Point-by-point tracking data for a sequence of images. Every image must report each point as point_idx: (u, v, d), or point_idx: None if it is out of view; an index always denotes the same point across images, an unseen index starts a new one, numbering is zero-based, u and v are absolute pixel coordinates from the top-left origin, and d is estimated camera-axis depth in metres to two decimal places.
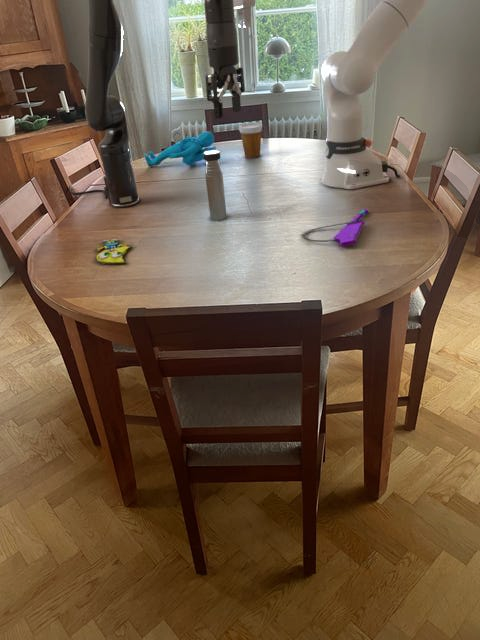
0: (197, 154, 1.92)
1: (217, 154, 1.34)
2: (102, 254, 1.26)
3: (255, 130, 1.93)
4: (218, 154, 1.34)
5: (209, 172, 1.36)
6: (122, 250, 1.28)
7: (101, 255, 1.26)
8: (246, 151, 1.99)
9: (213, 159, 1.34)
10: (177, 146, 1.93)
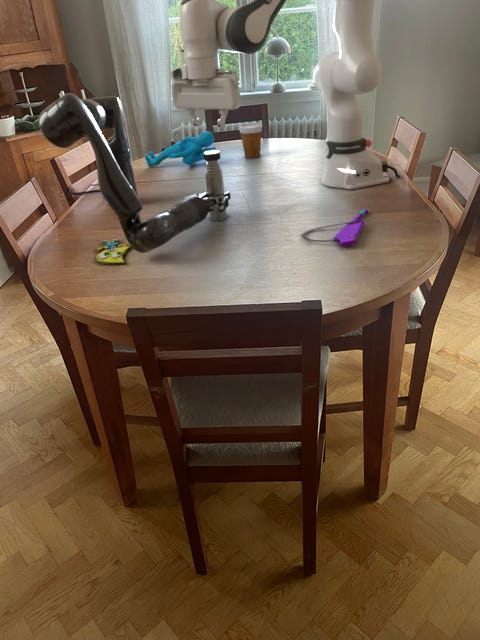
0: (197, 154, 1.92)
1: (217, 154, 1.34)
2: (102, 254, 1.26)
3: (255, 130, 1.93)
4: (218, 154, 1.34)
5: (209, 172, 1.36)
6: (122, 250, 1.28)
7: (101, 255, 1.26)
8: (246, 151, 1.99)
9: (213, 159, 1.34)
10: (177, 146, 1.93)
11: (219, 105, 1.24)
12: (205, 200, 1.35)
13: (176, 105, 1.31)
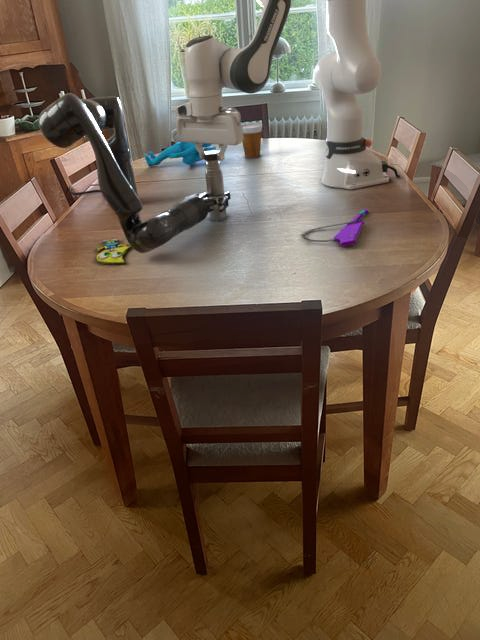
0: (197, 154, 1.92)
1: None
2: (102, 254, 1.26)
3: (255, 130, 1.93)
4: None
5: (209, 172, 1.36)
6: (122, 250, 1.28)
7: (101, 255, 1.26)
8: (246, 151, 1.99)
9: (213, 159, 1.34)
10: (177, 146, 1.93)
11: (222, 141, 1.29)
12: (205, 200, 1.35)
13: (180, 139, 1.36)
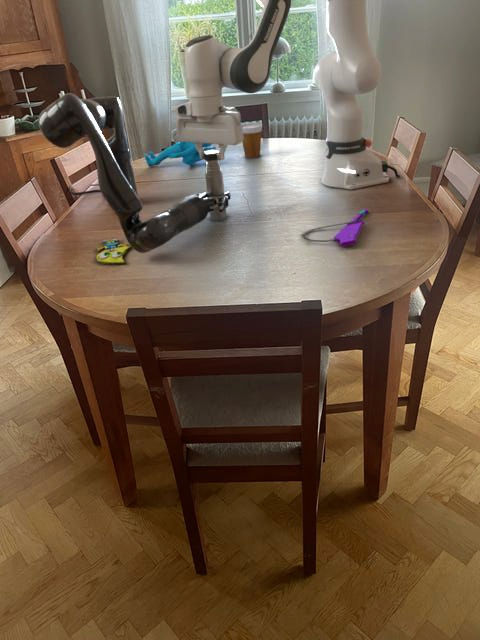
0: (197, 154, 1.92)
1: None
2: (102, 254, 1.26)
3: (255, 130, 1.93)
4: None
5: (209, 172, 1.36)
6: (122, 250, 1.28)
7: (101, 255, 1.26)
8: (246, 151, 1.99)
9: None
10: (177, 146, 1.93)
11: (222, 140, 1.29)
12: (205, 200, 1.35)
13: (180, 138, 1.36)
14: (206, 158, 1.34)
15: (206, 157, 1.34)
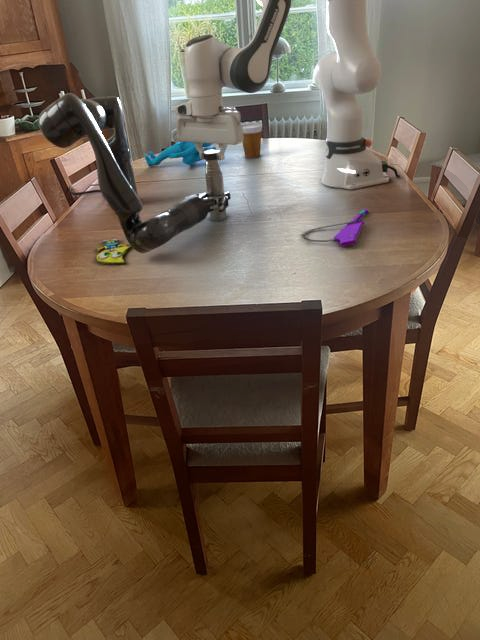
0: (197, 154, 1.92)
1: None
2: (102, 254, 1.26)
3: (255, 130, 1.93)
4: None
5: (209, 172, 1.36)
6: (122, 250, 1.28)
7: (101, 255, 1.26)
8: (246, 151, 1.99)
9: None
10: (177, 146, 1.93)
11: (222, 140, 1.29)
12: (205, 200, 1.35)
13: (180, 138, 1.36)
14: None
15: None
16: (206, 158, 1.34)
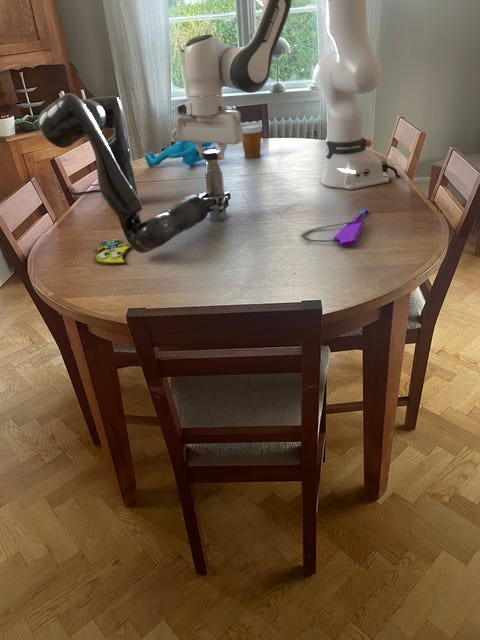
0: (197, 154, 1.92)
1: (205, 154, 1.34)
2: (102, 254, 1.26)
3: (255, 130, 1.93)
4: (206, 155, 1.34)
5: (209, 172, 1.36)
6: (122, 250, 1.28)
7: (101, 255, 1.26)
8: (246, 151, 1.99)
9: (204, 157, 1.35)
10: (177, 146, 1.93)
11: (222, 140, 1.29)
12: (205, 200, 1.35)
13: (180, 138, 1.36)
14: None
15: None
16: None
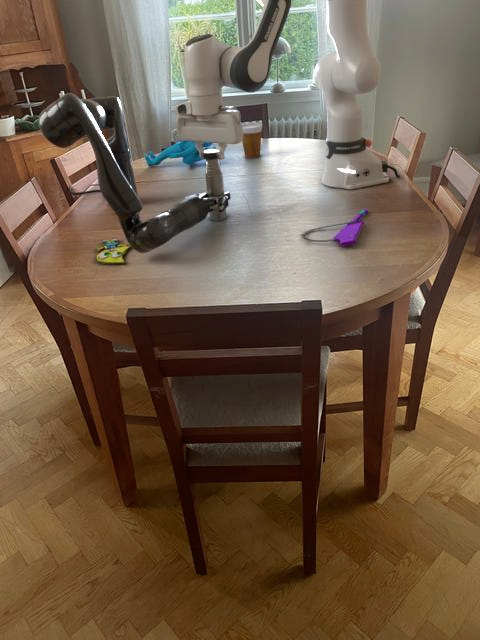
0: (197, 154, 1.92)
1: (215, 153, 1.33)
2: (102, 254, 1.26)
3: (255, 130, 1.93)
4: None
5: (209, 172, 1.36)
6: (122, 250, 1.28)
7: (101, 255, 1.26)
8: (246, 151, 1.99)
9: (211, 158, 1.33)
10: (177, 146, 1.93)
11: (222, 139, 1.29)
12: (205, 200, 1.35)
13: (180, 138, 1.36)
14: None
15: None
16: None
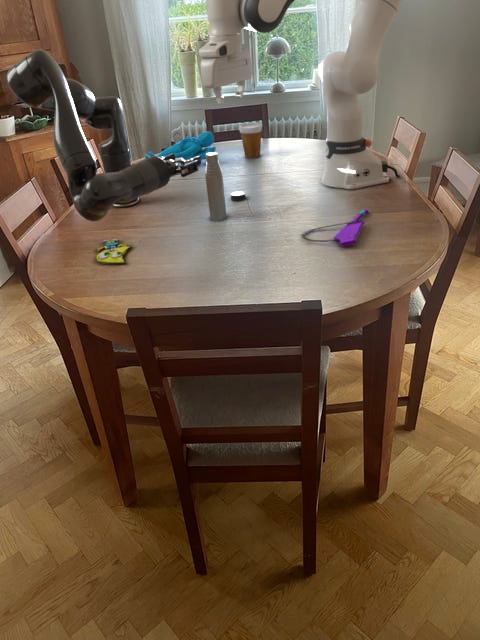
0: (197, 154, 1.92)
1: None
2: (102, 254, 1.26)
3: (255, 130, 1.93)
4: None
5: (209, 172, 1.36)
6: (122, 250, 1.28)
7: (101, 255, 1.26)
8: (246, 151, 1.99)
9: None
10: (177, 146, 1.93)
11: (244, 76, 1.42)
12: (167, 162, 1.18)
13: (215, 84, 1.32)
14: (241, 199, 1.56)
15: (242, 197, 1.56)
16: (232, 199, 1.57)
